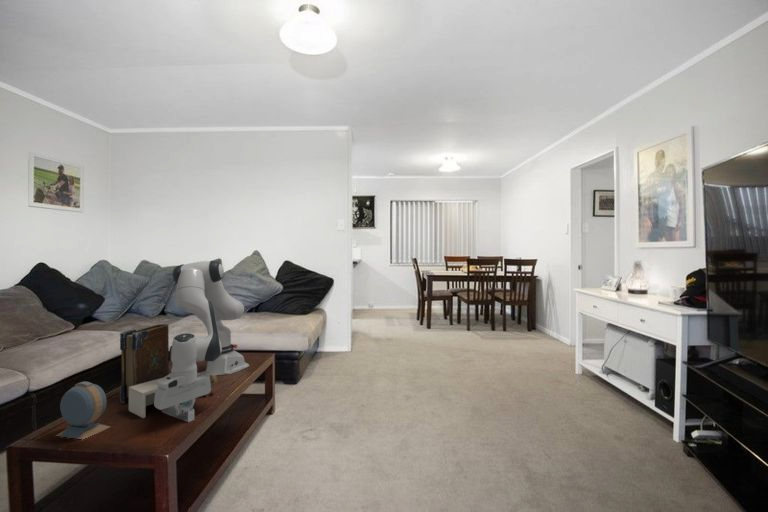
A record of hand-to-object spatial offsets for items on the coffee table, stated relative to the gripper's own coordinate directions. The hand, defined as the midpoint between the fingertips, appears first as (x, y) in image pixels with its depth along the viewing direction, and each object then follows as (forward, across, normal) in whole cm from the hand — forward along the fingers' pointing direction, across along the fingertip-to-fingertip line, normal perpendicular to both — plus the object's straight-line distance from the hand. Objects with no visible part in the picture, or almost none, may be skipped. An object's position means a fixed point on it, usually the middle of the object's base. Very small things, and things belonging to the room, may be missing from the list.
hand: (184, 412), depth 138 cm
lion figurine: (+3, -16, -16) cm, 23 cm away
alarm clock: (+3, +25, -20) cm, 32 cm away
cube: (+2, -5, -9) cm, 11 cm away
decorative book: (+3, -5, -41) cm, 41 cm away
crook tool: (+2, -2, -5) cm, 6 cm away
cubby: (+2, 0, -20) cm, 20 cm away
